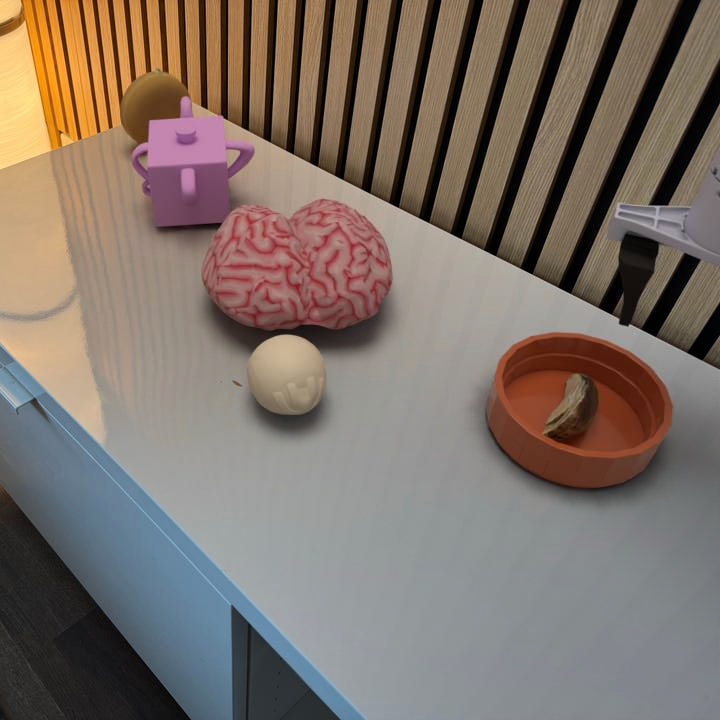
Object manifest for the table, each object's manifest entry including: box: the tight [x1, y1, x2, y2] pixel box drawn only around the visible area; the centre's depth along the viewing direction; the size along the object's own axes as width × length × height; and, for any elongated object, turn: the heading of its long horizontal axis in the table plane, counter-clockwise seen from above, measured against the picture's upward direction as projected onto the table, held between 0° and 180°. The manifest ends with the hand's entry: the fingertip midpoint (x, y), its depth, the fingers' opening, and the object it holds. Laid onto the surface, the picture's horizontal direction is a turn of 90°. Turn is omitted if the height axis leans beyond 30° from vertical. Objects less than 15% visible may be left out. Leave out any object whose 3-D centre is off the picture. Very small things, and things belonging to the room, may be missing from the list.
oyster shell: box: [542, 373, 599, 442], centre depth 63 cm, size 6×4×10 cm
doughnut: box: [119, 67, 193, 145], centre depth 96 cm, size 9×4×10 cm, turn 122°
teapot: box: [130, 96, 256, 228], centre depth 87 cm, size 18×14×10 cm
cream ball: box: [246, 334, 327, 416], centre depth 65 cm, size 7×7×7 cm
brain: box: [201, 198, 394, 331], centre depth 74 cm, size 19×18×10 cm
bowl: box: [485, 331, 674, 489], centre depth 63 cm, size 14×14×4 cm
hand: (678, 330), depth 58 cm, fingers open, 7 cm apart
